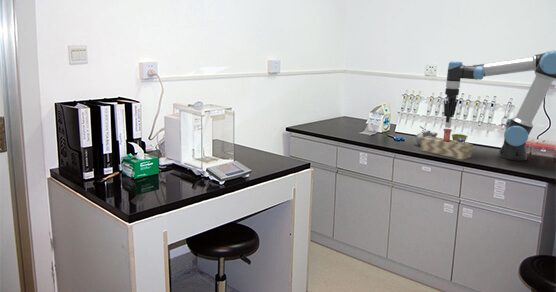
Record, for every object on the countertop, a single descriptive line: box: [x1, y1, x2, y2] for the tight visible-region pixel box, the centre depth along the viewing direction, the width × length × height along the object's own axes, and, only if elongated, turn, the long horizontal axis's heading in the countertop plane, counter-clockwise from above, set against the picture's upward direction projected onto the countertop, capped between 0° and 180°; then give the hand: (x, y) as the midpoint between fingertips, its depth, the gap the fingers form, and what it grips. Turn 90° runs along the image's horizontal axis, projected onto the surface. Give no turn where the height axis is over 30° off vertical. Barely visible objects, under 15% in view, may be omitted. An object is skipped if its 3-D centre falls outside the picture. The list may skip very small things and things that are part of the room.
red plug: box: [442, 128, 453, 142], centre depth 273 cm, size 5×5×10 cm
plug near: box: [457, 138, 466, 145], centre depth 267 cm, size 5×5×10 cm
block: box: [419, 136, 474, 161], centre depth 274 cm, size 28×10×8 cm, turn 40°
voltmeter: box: [414, 126, 432, 147], centre depth 299 cm, size 27×11×10 cm, turn 0°
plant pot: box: [451, 133, 468, 143], centre depth 288 cm, size 9×9×9 cm
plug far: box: [430, 132, 438, 139], centre depth 280 cm, size 5×5×10 cm
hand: (447, 127), depth 271 cm, fingers closed
